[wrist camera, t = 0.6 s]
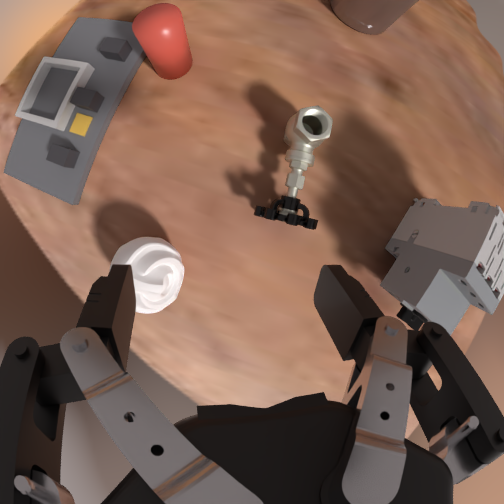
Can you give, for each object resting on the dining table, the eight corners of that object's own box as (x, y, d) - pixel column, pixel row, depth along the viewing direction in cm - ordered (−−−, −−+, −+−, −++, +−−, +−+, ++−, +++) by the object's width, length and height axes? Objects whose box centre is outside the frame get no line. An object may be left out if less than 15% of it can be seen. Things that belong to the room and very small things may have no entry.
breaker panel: (82, 21, 24) (71, 9, 21) (161, 32, 27) (155, 16, 23) (9, 172, 28) (-8, 171, 24) (78, 204, 30) (61, 205, 26)
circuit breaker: (357, 287, 35) (427, 338, 20) (414, 198, 33) (499, 203, 18) (392, 314, 36) (460, 365, 21) (444, 231, 34) (523, 249, 20)
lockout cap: (166, 45, 27) (148, 0, 17) (199, 54, 28) (190, 7, 18) (148, 74, 28) (122, 34, 18) (181, 83, 28) (165, 43, 18)
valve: (274, 112, 30) (251, 213, 32) (285, 93, 24) (257, 216, 25) (328, 128, 31) (307, 226, 33) (350, 114, 24) (326, 233, 26)
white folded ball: (177, 306, 33) (165, 335, 25) (119, 287, 32) (93, 310, 24) (194, 241, 32) (185, 254, 24) (133, 223, 31) (106, 230, 23)
